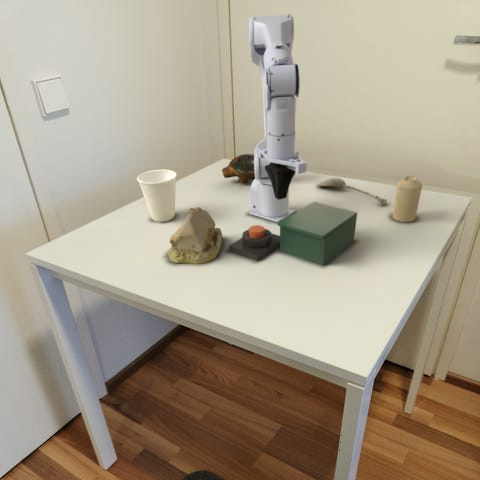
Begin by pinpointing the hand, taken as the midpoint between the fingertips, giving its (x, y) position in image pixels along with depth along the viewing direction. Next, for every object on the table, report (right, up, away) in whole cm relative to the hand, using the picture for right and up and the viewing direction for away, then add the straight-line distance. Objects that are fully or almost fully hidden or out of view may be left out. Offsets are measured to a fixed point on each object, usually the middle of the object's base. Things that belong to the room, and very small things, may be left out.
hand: (280, 197), depth 99 cm
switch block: (-5, -10, +4) cm, 12 cm away
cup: (-29, 0, +20) cm, 35 cm away
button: (-5, -8, +3) cm, 10 cm away
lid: (+8, -5, -1) cm, 10 cm away
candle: (+32, -2, +13) cm, 34 cm away
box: (+9, -10, +3) cm, 14 cm away
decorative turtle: (-7, +19, +36) cm, 41 cm away
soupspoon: (+22, +8, +27) cm, 36 cm away
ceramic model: (-19, -11, +4) cm, 22 cm away
